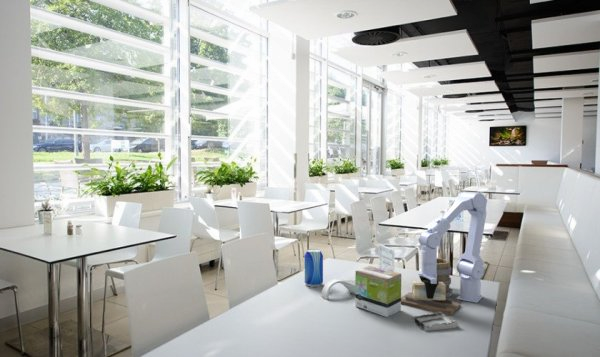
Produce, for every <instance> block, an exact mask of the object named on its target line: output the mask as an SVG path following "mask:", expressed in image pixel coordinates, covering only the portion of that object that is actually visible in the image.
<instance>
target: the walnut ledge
mask: <svg viewBox="0 0 600 357" xmlns="http://www.w3.org/2000/svg"><path fill="white" fill-rule="evenodd" d="M401 305H403V306H408V307H410V308H412V307H413V308H416V309H421V310H425V311H430V312H433V313H437V312H442V313H443V314H444V315H445V316H446V315H447V316H452V315H453V314H454V313H455V312H456V311H457V310H458V309H460V307H461V302H458V301H457V302H456V301H453V299H450V298H446V299H445V300H414V298H413V297H412V292H408V293H406V294H405V295H403V296H401Z"/></svg>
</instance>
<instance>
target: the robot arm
mask: <svg viewBox="0 0 600 357" xmlns="http://www.w3.org/2000/svg"><path fill="white" fill-rule="evenodd" d="M487 203H488V199H487V197H486V196H485V195H484V194H483V193H482V192H470V191H465V190H463V191H461V192H459V194H458V195H457V196H456V197H455V201H454V203H453V204H452V206H451V207H450V208H449V209H448V211H446V213H445V214H444V216H443V217H438V218H436V219H434V222H433V223H432V224H431V226H429V227H428V228H427V229H426V231H423V232H422V233H421V234H420V236H419V237H418V238H417V240H418V243H419V244H420V249H421V266H420V268H421V271H420V272H418V273H417V275H418V276H419V277H418V278H419V280H420V282H424V284H425V287H426V294H427V298H428V299H433V297H434V293H435V290H436V287H437V286H438V284H439V282H438V281H437V279H436V278H437V273H436V272H437V258H438V257H437V253H438V248H437V247H439V246H440V245H441V241H442V238H443V236H445V234H446V233H447V232H448V231H449V230H450V229H451V223H452V222H453V221H454V220H456V219H457V217H458V216H459V215H460V214H461V213H463V212H464V211H468V213H469V214H470V222H469V229H468V233H467V240H466V245H465V250H464V253H462V254H460V255H459V259H458V262H457V263H456V271H457V272H458V273H459V276H460V284H459V287H460V288H459V289H460V290H459V291H460V292H459V295H458V296H456V299H457V300H461V301H466V302H469V303H470V302H471V303H476V304H477V303H479V301H481V299H482V298H483V297H484V295H483V294H482V295H481V291H482V290H481V289H482V288H481V286H482V284H481V283H482V282H481V278H483V276H484V273H485V268H484V267H485V266H484V260H483V258H481V256H480V253H481V248H482V242H483V235H484V231H485V223H486V219H487Z"/></svg>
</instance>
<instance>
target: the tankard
mask: <svg viewBox="0 0 600 357" xmlns="http://www.w3.org/2000/svg"><path fill="white" fill-rule="evenodd" d="M436 273H437V278H436V279H437V281H438V282H443V283H444V284H445V285H446V298H449V297H451V296H452V295H453V293H454V292H453V291H454V290H453V288H450V285H451V284H452V278H451V277H450V275H451V273H452V267H451V261H450V260H448V259H445V258H444V253H443V252H439V253H438V257H437V272H436Z"/></svg>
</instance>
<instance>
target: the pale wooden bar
mask: <svg viewBox="0 0 600 357" xmlns="http://www.w3.org/2000/svg"><path fill="white" fill-rule="evenodd" d="M411 293H412V297H413V298H414V300H445V299H447V297H446V285H445V284H444V283H443V282H439V284H438V286H437V287H436V290H435V293H434V297H433V299H428V298H427V294H426V287H425V284H424V282H421V281H412V284H411Z"/></svg>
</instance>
